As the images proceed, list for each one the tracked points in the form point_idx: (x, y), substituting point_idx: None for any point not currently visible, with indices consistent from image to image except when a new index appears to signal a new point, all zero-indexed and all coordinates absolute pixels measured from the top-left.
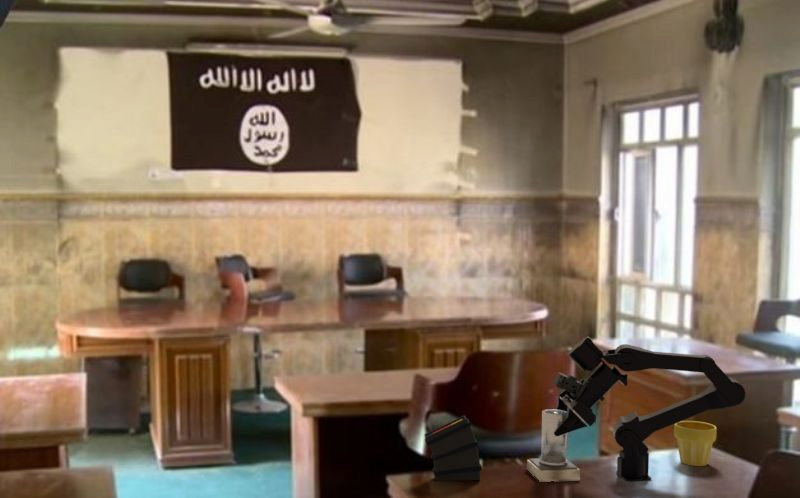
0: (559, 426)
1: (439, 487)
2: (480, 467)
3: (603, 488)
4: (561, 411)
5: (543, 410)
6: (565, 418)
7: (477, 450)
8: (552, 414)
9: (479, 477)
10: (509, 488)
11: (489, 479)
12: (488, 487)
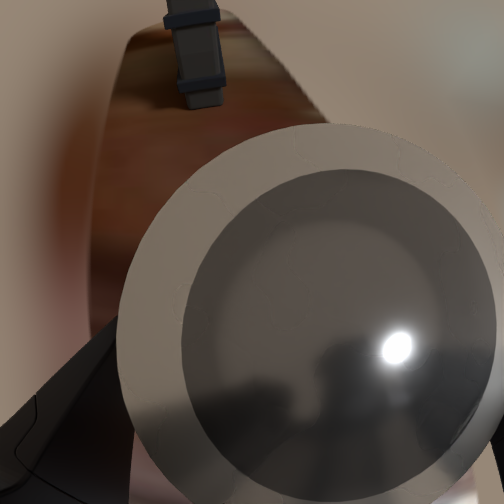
0: (69, 361)
1: (145, 58)
2: (177, 84)
3: (140, 471)
4: (422, 456)
5: (431, 159)
6: (17, 441)
7: (174, 40)
8: (134, 278)
9: (187, 103)
10: (117, 181)
11: (203, 129)
12: (131, 132)
